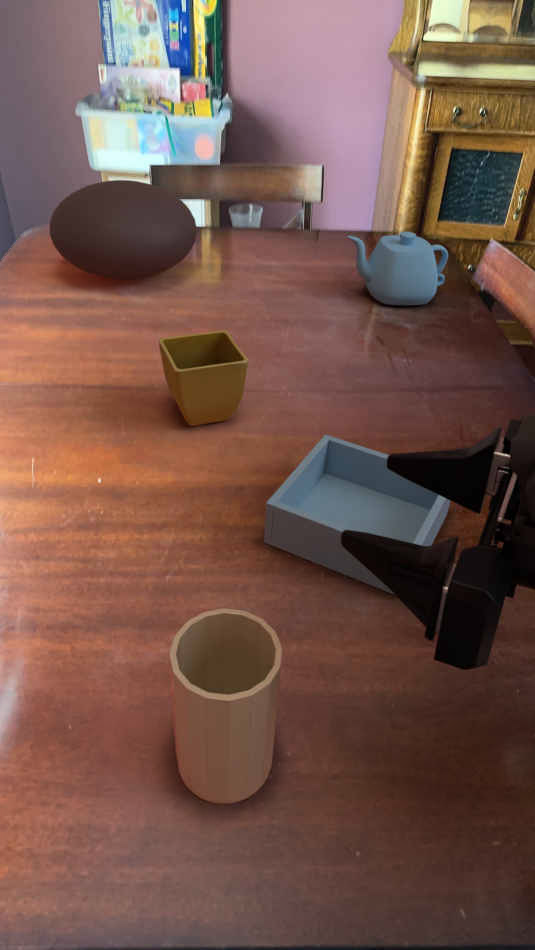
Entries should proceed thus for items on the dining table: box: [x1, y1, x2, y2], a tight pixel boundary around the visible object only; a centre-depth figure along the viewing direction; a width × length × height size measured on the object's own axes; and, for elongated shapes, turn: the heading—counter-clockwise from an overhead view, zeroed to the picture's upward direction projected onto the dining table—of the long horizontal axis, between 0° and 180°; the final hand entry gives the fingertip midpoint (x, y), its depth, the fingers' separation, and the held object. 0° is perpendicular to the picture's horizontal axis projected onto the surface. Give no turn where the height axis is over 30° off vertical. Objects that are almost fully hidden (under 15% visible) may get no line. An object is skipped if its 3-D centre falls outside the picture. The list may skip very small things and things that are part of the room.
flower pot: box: [158, 330, 249, 427], centre depth 82 cm, size 9×9×9 cm
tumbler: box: [168, 608, 283, 805], centre depth 45 cm, size 7×7×12 cm
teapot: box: [347, 231, 449, 306], centre depth 115 cm, size 13×11×18 cm
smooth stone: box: [49, 179, 198, 280], centre depth 117 cm, size 25×25×15 cm
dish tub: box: [263, 434, 452, 596], centre depth 67 cm, size 15×14×5 cm
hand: (366, 496), depth 45 cm, fingers open, 9 cm apart
